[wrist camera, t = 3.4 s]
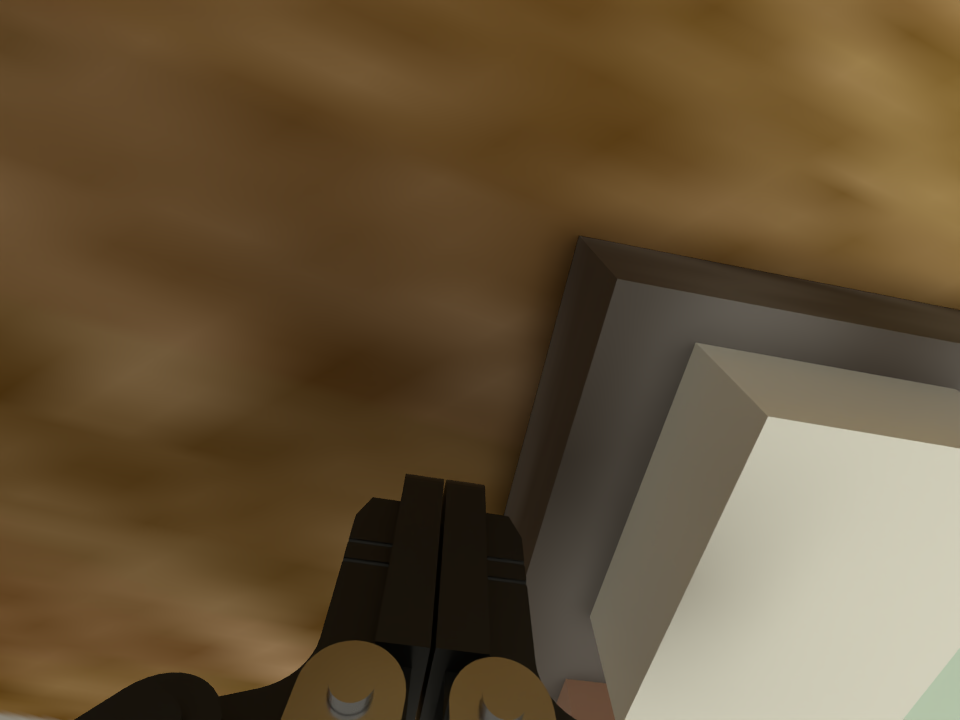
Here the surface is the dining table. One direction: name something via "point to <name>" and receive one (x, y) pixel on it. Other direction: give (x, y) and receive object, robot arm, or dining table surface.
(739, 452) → the cream tile
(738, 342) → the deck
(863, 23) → the dining table surface
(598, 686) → the salmon pink block
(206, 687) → the robot arm
